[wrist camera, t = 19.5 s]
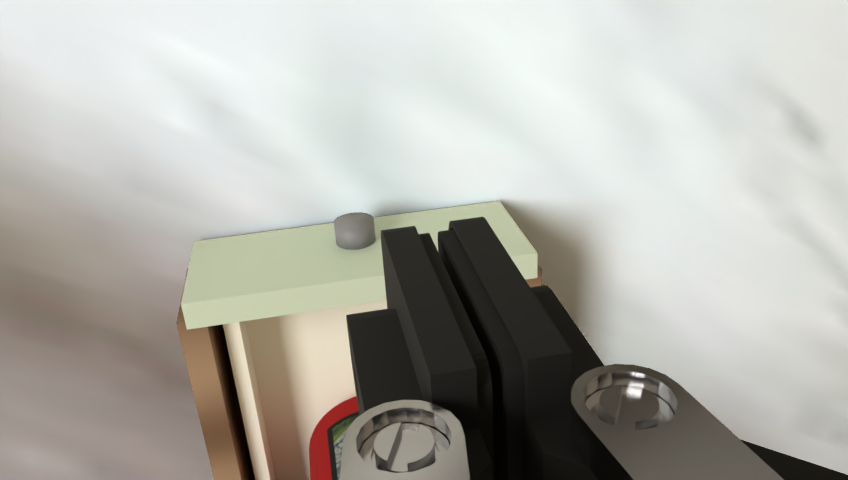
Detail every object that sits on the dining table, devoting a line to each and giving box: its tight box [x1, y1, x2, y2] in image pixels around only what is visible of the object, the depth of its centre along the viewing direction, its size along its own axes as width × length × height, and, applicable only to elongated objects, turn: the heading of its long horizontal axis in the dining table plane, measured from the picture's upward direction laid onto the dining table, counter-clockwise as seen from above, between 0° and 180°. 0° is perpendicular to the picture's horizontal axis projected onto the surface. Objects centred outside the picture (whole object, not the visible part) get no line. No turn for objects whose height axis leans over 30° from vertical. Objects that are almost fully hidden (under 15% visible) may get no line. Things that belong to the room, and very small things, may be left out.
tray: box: [181, 201, 538, 480], centre depth 37 cm, size 19×15×6 cm
